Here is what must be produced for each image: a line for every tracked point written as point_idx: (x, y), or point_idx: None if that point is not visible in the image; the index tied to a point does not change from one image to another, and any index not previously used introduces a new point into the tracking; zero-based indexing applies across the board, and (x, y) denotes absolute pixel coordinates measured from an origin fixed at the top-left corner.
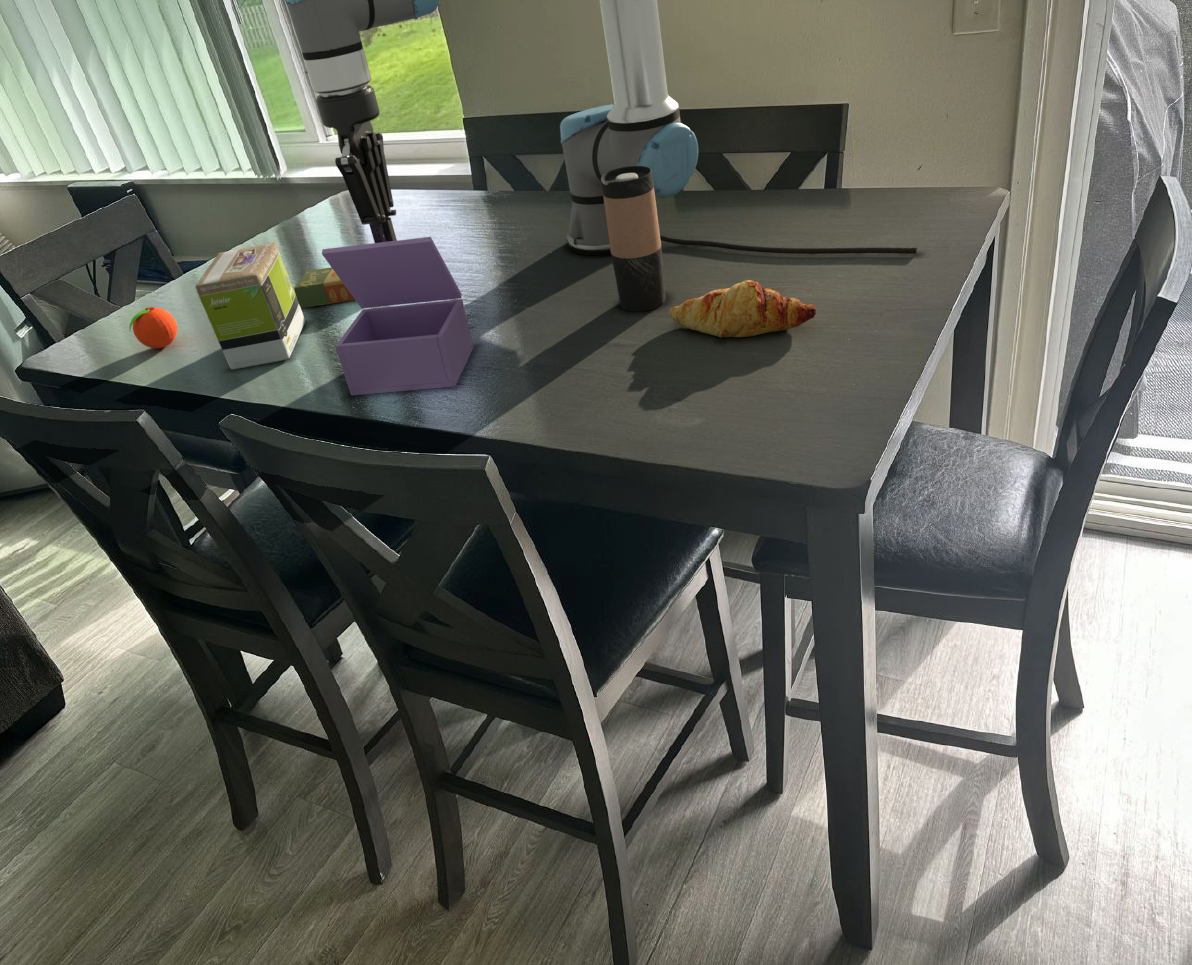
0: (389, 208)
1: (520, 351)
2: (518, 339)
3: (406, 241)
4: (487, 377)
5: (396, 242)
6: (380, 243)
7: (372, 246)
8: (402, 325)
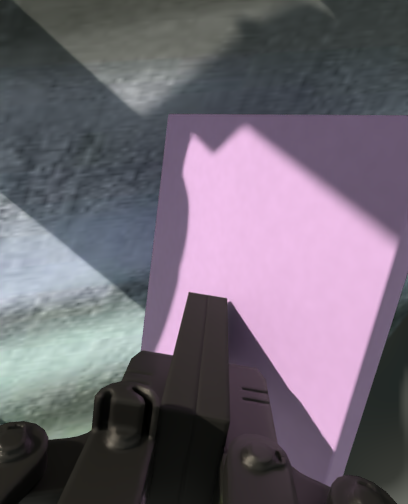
0: (103, 445)
1: (250, 10)
2: (185, 18)
3: (402, 271)
4: (349, 84)
5: (381, 326)
6: (355, 406)
7: (350, 437)
8: None
